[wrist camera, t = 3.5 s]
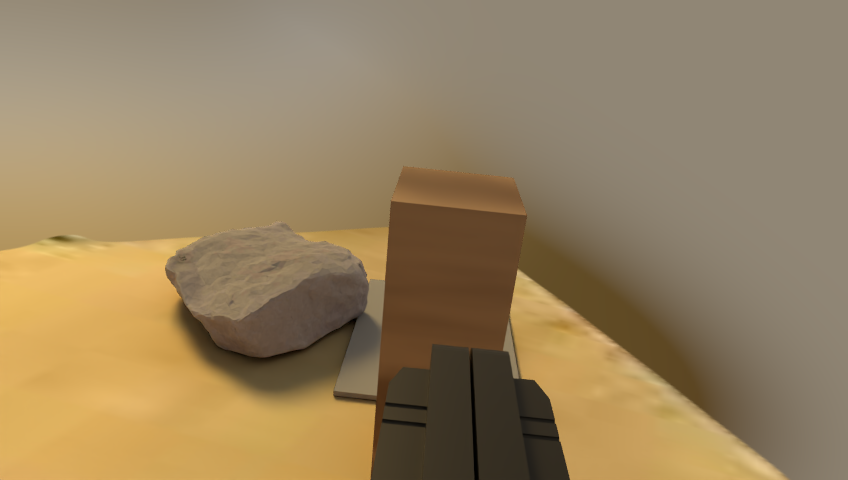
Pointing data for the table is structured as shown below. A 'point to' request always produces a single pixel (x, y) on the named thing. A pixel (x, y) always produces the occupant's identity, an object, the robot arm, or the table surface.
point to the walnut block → (447, 268)
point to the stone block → (268, 288)
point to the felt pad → (376, 350)
